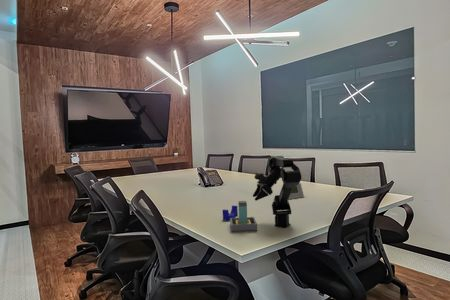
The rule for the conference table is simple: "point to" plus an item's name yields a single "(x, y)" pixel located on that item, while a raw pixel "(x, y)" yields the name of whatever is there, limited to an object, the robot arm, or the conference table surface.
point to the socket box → (243, 225)
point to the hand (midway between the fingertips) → (254, 198)
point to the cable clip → (232, 215)
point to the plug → (242, 212)
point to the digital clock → (296, 192)
